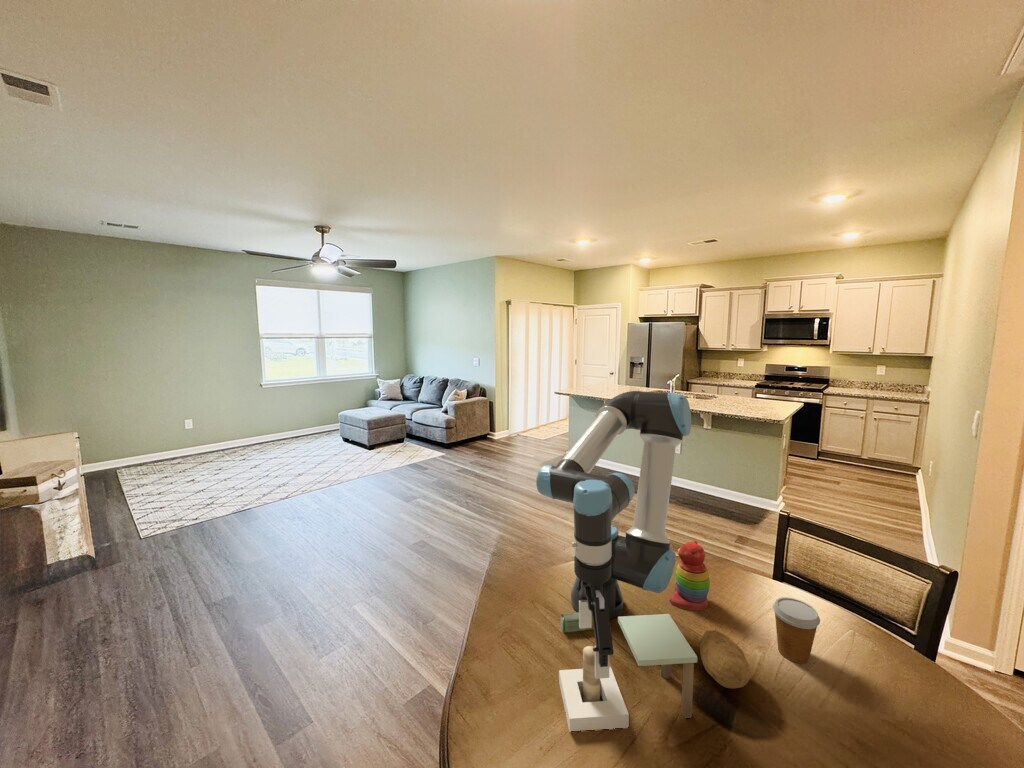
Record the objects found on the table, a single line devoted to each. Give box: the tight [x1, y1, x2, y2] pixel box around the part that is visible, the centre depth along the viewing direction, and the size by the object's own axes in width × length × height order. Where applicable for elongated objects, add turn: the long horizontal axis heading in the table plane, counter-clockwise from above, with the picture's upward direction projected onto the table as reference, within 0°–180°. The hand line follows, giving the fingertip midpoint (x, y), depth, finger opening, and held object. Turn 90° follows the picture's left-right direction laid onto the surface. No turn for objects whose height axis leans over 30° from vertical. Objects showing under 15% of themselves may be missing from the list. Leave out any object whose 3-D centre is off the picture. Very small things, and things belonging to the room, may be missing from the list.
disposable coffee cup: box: [772, 596, 821, 664], centre depth 100 cm, size 10×10×12 cm
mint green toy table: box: [617, 613, 698, 719], centre depth 89 cm, size 13×12×14 cm
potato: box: [699, 629, 752, 690], centre depth 94 cm, size 10×14×8 cm
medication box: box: [560, 611, 594, 633], centre depth 111 cm, size 12×3×4 cm, turn 99°
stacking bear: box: [668, 539, 711, 611], centre depth 121 cm, size 11×10×18 cm
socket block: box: [558, 666, 630, 733], centre depth 88 cm, size 12×12×3 cm
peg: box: [582, 645, 601, 702], centre depth 87 cm, size 4×4×12 cm
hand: (593, 650), depth 87 cm, fingers open, 13 cm apart
